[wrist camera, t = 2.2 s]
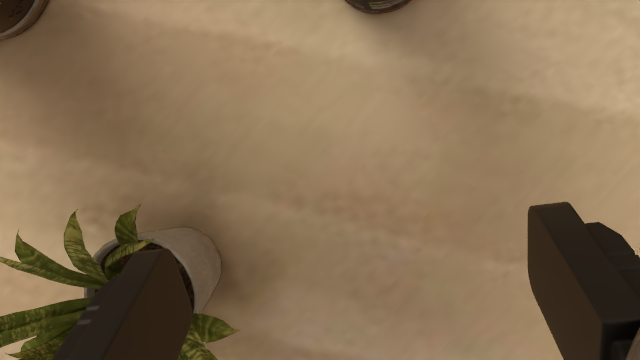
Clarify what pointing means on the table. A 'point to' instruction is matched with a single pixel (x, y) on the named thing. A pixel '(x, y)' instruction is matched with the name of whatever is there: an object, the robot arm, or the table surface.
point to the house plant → (58, 319)
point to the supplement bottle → (377, 5)
